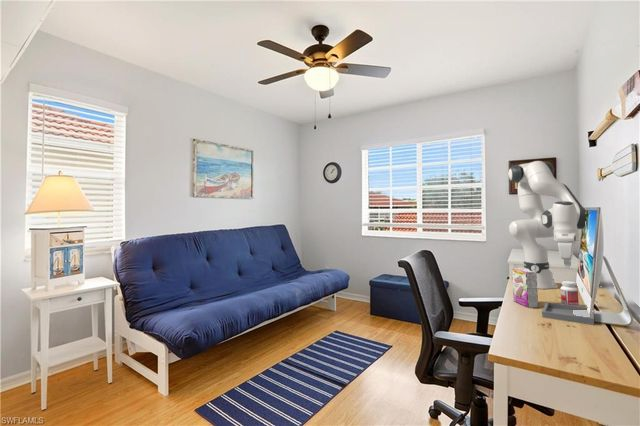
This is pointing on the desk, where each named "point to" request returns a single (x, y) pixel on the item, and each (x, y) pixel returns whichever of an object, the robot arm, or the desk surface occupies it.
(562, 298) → the pill bottle
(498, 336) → the desk surface
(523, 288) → the candy bar box
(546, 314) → the grey tray
